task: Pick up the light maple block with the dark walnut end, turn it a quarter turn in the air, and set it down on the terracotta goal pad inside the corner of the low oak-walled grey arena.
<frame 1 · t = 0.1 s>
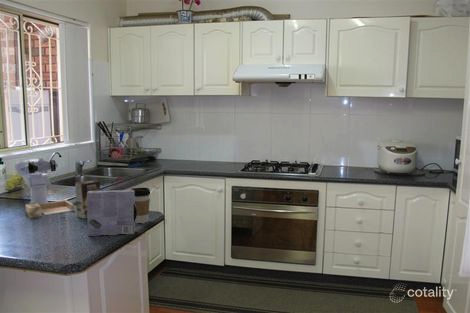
hand: (45, 167, 195), 22 cm above the countertop, tool horizontal, fingers open, 7 cm apart
maple block: (33, 214, 193), on the countertop
cake pan box: (113, 234, 165), on the countertop
arena: (56, 210, 200), on the countertop
coffee box: (89, 216, 191), on the countertop
coffee cup: (141, 222, 181), on the countertop
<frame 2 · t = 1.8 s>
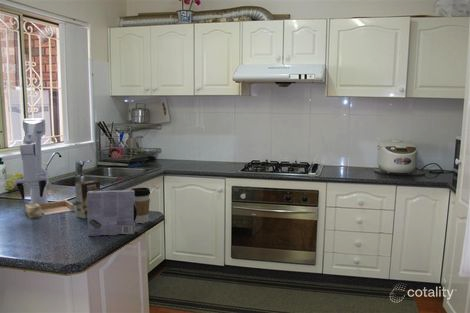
hand: (32, 197, 192), 8 cm above the countertop, tool pointing down, fingers open, 7 cm apart
nothing on the countertop moved.
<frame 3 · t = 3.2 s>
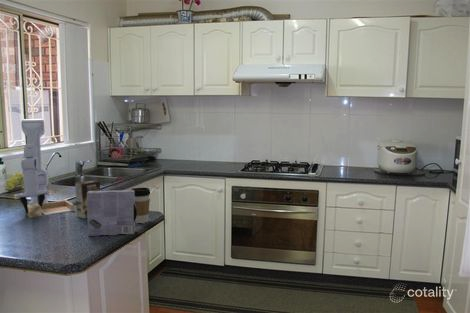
hand: (33, 211, 193), 1 cm above the countertop, tool pointing down, fingers closed on maple block, 5 cm apart
maple block: (33, 214, 193), on the countertop, touching gripper
everything else where it was.
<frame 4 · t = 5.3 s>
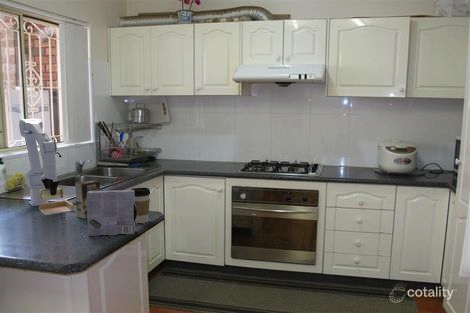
hand: (51, 194, 198), 8 cm above the countertop, tool pointing down, fingers closed on maple block, 5 cm apart
maple block: (51, 198, 198), point 6 cm above the countertop, touching gripper
everything else where it was.
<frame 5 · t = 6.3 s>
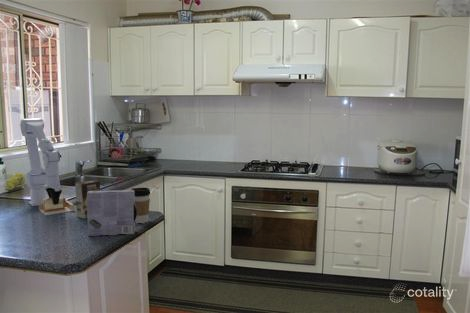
hand: (54, 203, 199), 4 cm above the countertop, tool pointing down, fingers closed on maple block, 5 cm apart
maple block: (54, 207, 200), point 2 cm above the countertop, touching gripper
everything else where it was.
when the fingers open (4 cm above the countertop, at t = 7.2 s): maple block stays where it is, resting on arena.
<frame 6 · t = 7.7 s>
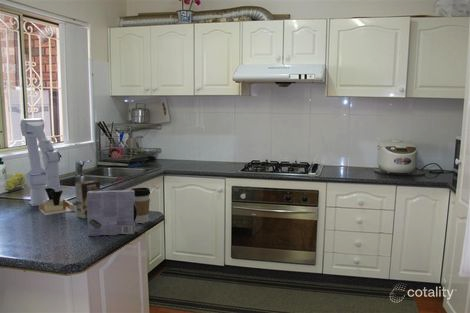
hand: (54, 203, 199), 4 cm above the countertop, tool pointing down, fingers open, 7 cm apart
maple block: (54, 209, 200), point 1 cm above the countertop, touching arena
everything else where it was.
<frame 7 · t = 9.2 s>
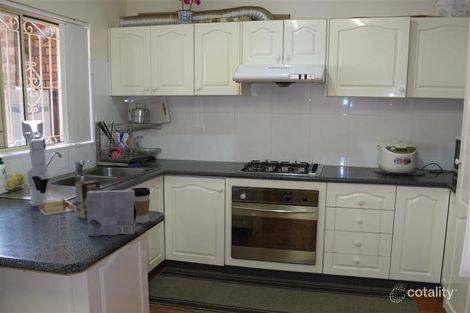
hand: (41, 191, 198), 9 cm above the countertop, tool pointing down, fingers open, 7 cm apart
nothing on the countertop moved.
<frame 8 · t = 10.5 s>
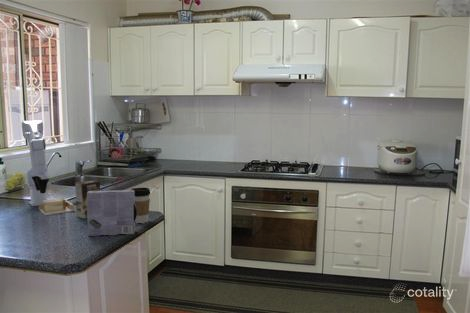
hand: (41, 191, 198), 9 cm above the countertop, tool pointing down, fingers open, 7 cm apart
nothing on the countertop moved.
at the end: maple block 0.1 cm off-centre on the arena, point 0.6 cm above the arena's base; maple block tilted 0°; the gripper is holding nothing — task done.
